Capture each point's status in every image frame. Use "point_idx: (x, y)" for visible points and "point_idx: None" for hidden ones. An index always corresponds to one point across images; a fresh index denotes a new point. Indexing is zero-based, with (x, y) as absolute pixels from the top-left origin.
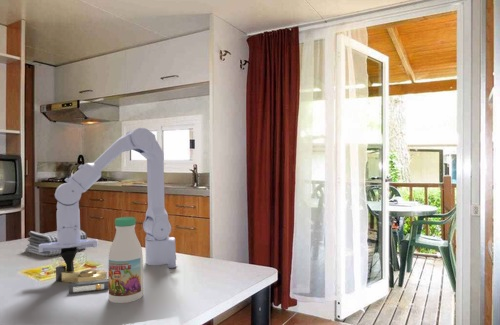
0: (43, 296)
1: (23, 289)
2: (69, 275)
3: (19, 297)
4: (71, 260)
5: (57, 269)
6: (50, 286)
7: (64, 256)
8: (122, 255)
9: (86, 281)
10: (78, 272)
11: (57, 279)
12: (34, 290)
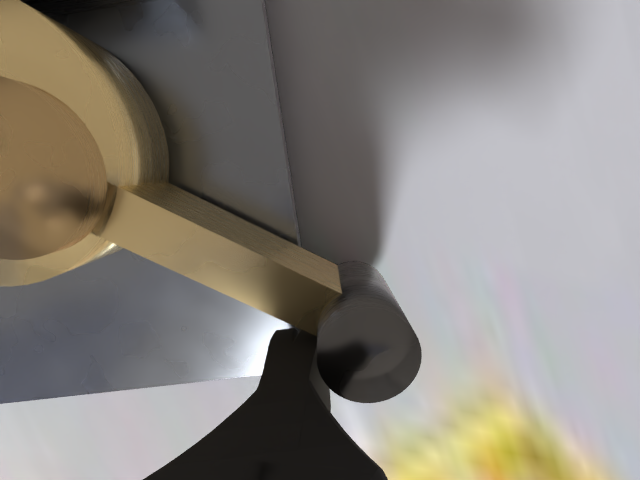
0: (396, 66)
1: (578, 248)
2: (253, 242)
3: (563, 82)
4: (231, 416)
5: (387, 307)
6: (414, 271)
7: (315, 459)
8: None
9: None
10: (161, 253)
11: (370, 269)
12: (498, 212)
